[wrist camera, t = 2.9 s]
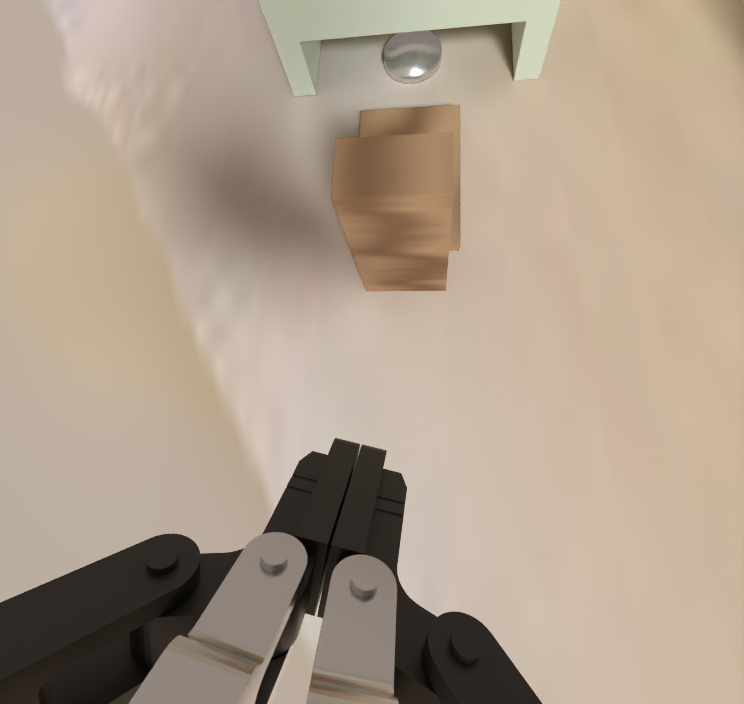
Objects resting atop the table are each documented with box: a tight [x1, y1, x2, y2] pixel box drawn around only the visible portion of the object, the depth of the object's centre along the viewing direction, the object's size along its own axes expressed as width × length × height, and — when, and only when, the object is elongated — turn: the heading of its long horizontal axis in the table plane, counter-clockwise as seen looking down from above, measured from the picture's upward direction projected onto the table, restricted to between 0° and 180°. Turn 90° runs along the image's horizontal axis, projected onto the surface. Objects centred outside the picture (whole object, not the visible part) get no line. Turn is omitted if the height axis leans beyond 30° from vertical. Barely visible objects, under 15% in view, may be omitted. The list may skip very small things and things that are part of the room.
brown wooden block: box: [331, 105, 460, 291], centre depth 29 cm, size 8×15×12 cm, turn 177°
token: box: [383, 30, 442, 84], centre depth 38 cm, size 5×5×1 cm
